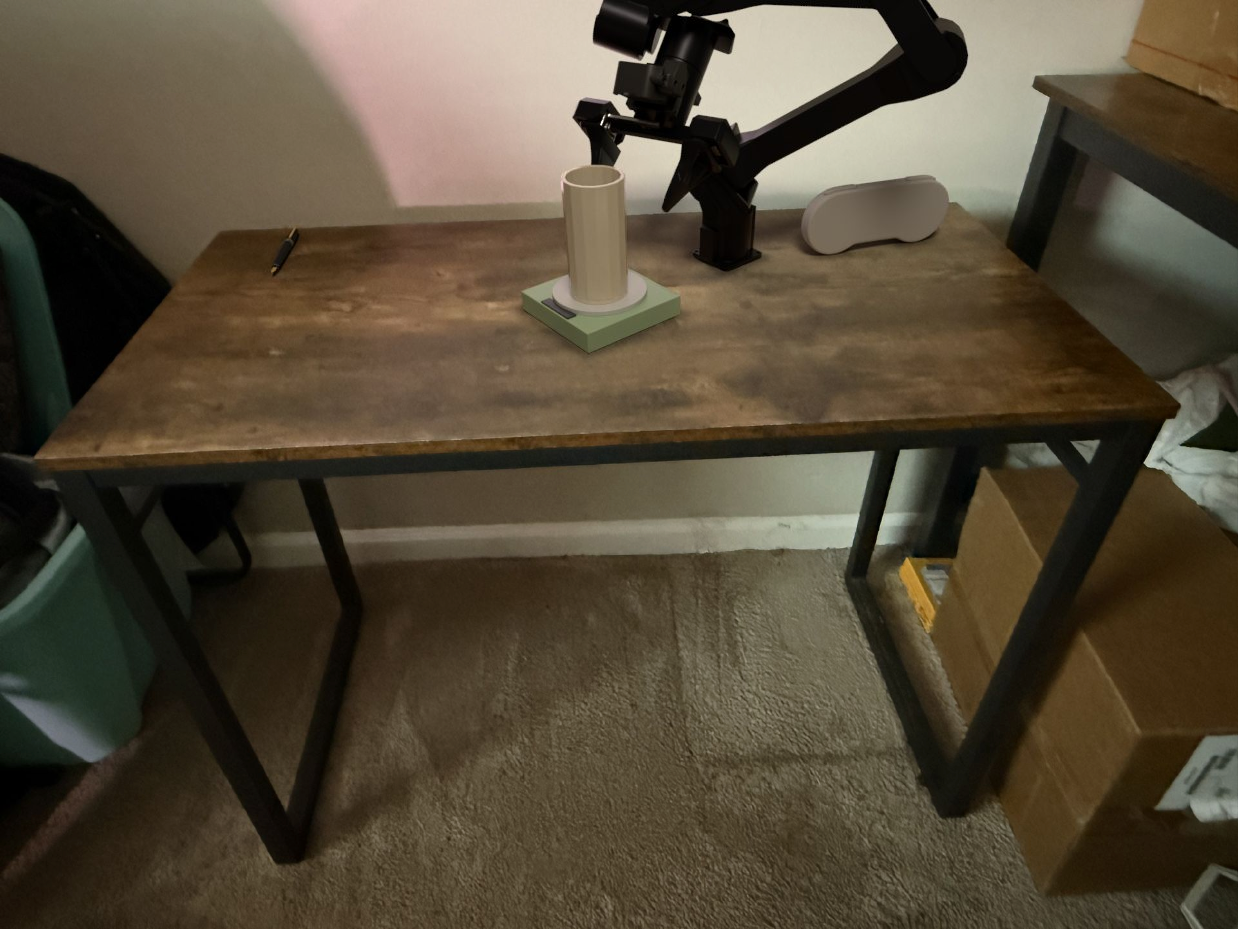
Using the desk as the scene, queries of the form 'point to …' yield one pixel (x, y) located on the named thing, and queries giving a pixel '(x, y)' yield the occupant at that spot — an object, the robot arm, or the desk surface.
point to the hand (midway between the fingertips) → (627, 203)
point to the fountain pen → (285, 249)
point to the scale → (601, 311)
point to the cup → (595, 233)
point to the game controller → (874, 213)
